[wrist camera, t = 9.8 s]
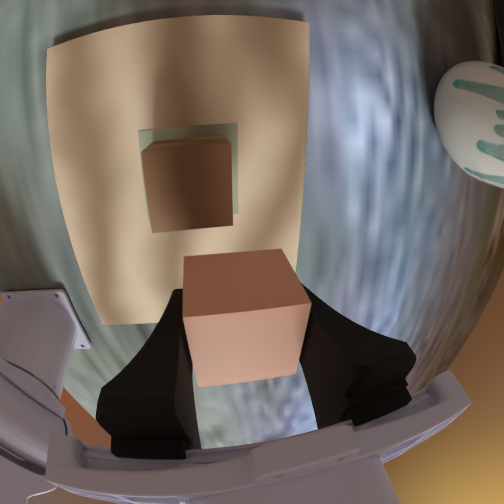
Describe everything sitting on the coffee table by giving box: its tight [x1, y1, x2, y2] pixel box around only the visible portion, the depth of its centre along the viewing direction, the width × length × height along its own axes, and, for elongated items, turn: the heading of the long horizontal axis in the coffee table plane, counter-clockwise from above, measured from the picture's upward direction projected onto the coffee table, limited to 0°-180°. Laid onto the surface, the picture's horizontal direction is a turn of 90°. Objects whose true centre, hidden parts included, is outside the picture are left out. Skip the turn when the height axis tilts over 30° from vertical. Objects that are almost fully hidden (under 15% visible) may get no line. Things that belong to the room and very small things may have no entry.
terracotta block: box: [183, 248, 311, 387], centre depth 12 cm, size 5×5×4 cm
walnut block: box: [141, 136, 233, 233], centre depth 16 cm, size 5×5×4 cm
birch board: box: [46, 15, 309, 325], centre depth 18 cm, size 18×24×1 cm
